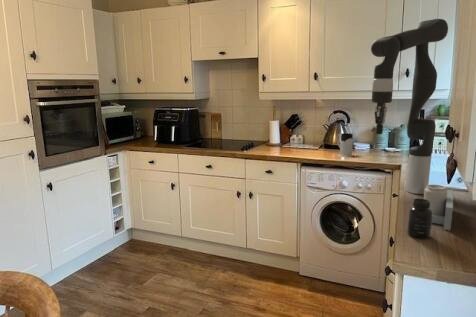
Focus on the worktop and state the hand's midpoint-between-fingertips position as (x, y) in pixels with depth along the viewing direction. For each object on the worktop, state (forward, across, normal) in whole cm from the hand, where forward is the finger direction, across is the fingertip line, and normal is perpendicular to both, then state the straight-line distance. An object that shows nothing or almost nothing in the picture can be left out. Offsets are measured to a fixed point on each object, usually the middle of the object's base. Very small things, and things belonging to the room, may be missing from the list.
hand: (379, 133), depth 150 cm
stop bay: (+29, -7, -24) cm, 38 cm away
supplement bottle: (+29, -29, -19) cm, 45 cm away
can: (+29, -7, -22) cm, 37 cm away
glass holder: (+29, +98, +38) cm, 109 cm away
